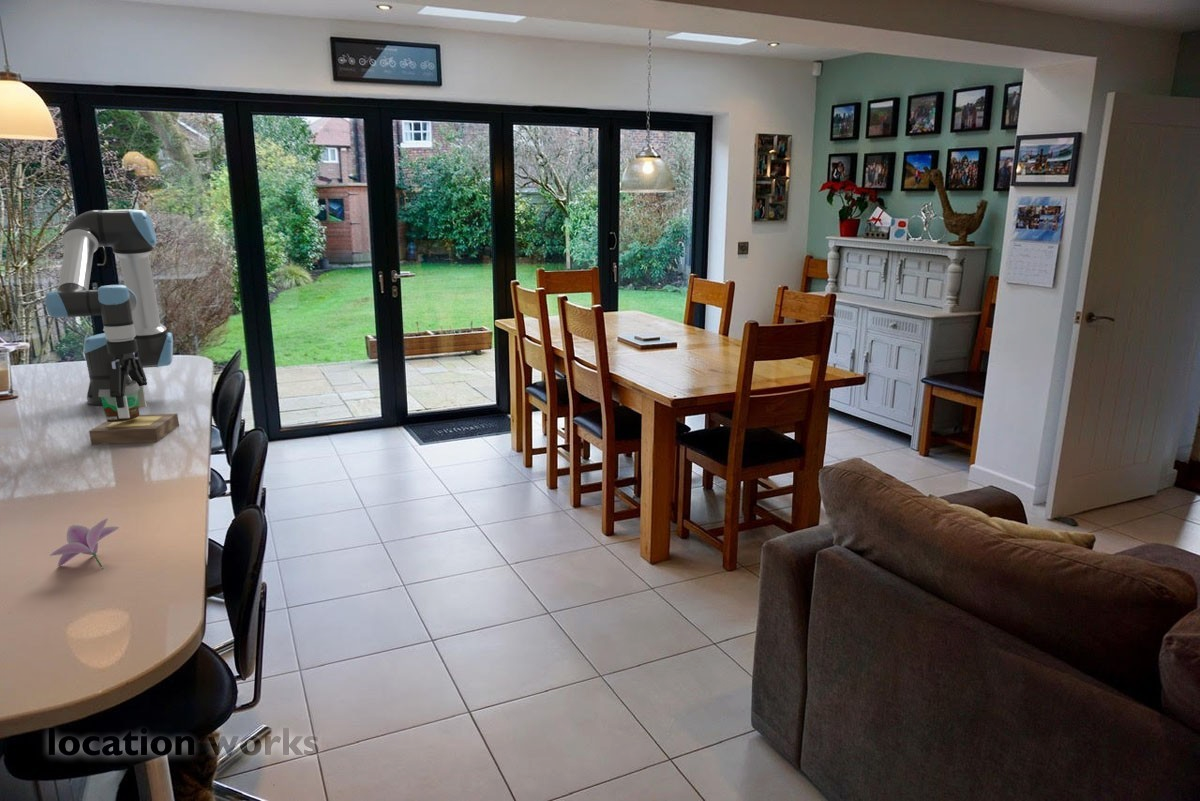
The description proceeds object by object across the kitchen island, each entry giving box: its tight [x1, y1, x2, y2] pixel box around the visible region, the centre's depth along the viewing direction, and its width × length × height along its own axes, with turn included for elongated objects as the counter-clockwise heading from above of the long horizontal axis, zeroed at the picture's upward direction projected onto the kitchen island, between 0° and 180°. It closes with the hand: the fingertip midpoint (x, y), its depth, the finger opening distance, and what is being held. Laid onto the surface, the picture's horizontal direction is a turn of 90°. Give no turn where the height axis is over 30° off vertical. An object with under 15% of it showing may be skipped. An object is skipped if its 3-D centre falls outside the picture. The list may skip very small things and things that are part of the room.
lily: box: [50, 517, 120, 568], centre depth 152 cm, size 12×12×10 cm
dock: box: [88, 413, 180, 445], centre depth 233 cm, size 16×18×4 cm
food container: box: [99, 380, 140, 422], centre depth 230 cm, size 12×6×10 cm, turn 167°
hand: (133, 412), depth 232 cm, fingers closed on food container, 11 cm apart
